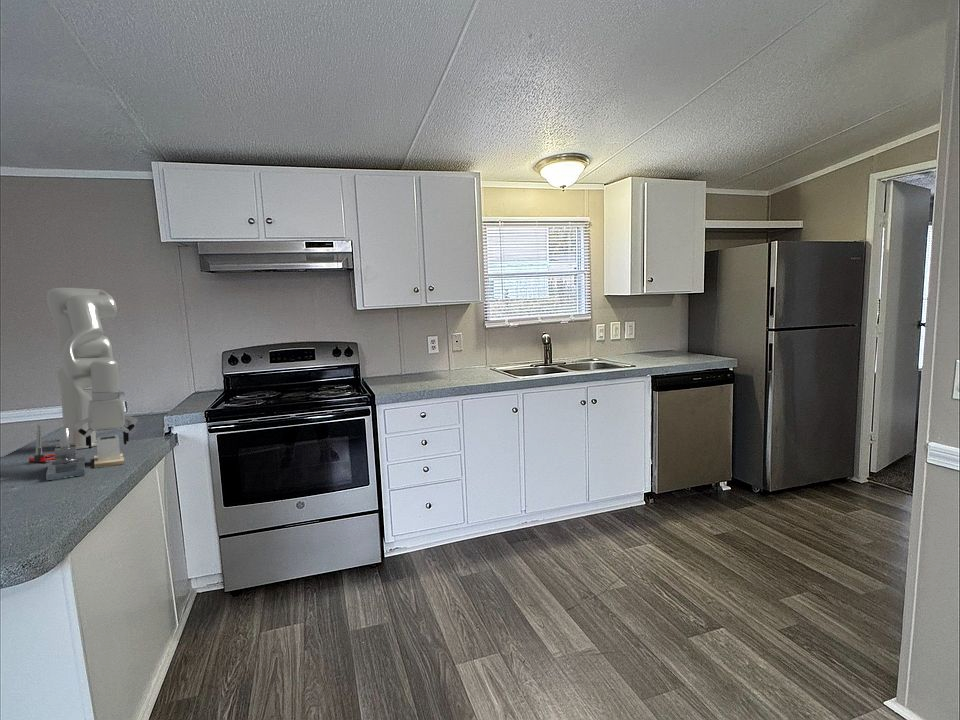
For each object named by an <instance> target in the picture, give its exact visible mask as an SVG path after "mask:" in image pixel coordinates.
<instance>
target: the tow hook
mask: <svg viewBox="0 0 960 720" xmlns="http://www.w3.org/2000/svg"><path fill="white" fill-rule="evenodd" d="M36 426H37V430H36V446H35V454H34V455H33V457H30V458H28V462H29V461H34V462H33V463H36V462H46V461H49V460H55V457H49V458H44V457H47V456H55V453H53V454H43V446H42V430H41V424H37V425H36ZM49 462H50V461H49Z"/></svg>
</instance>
